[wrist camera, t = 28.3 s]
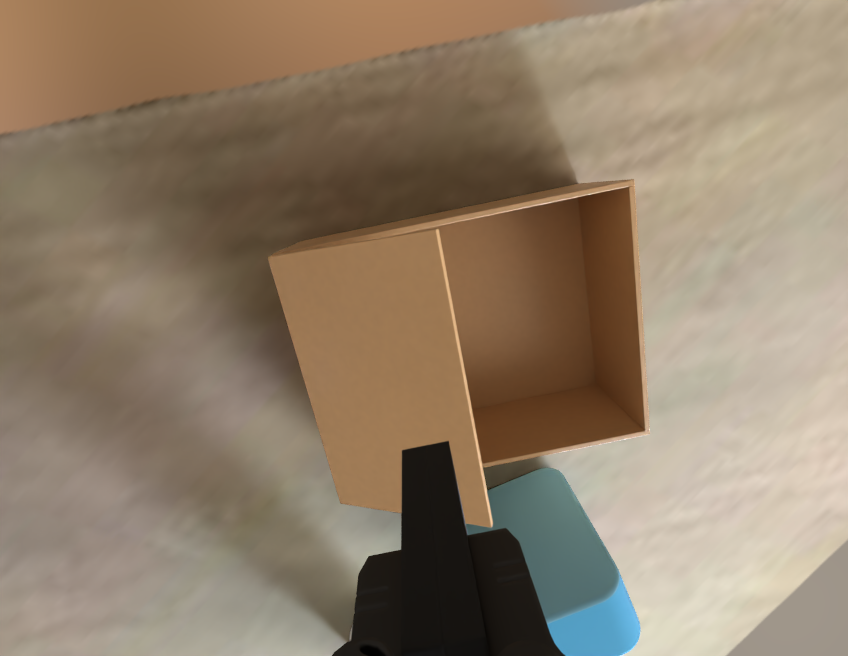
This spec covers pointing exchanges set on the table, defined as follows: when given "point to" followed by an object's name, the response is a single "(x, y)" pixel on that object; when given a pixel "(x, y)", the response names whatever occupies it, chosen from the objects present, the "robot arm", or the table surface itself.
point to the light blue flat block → (566, 564)
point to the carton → (542, 315)
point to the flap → (382, 364)
